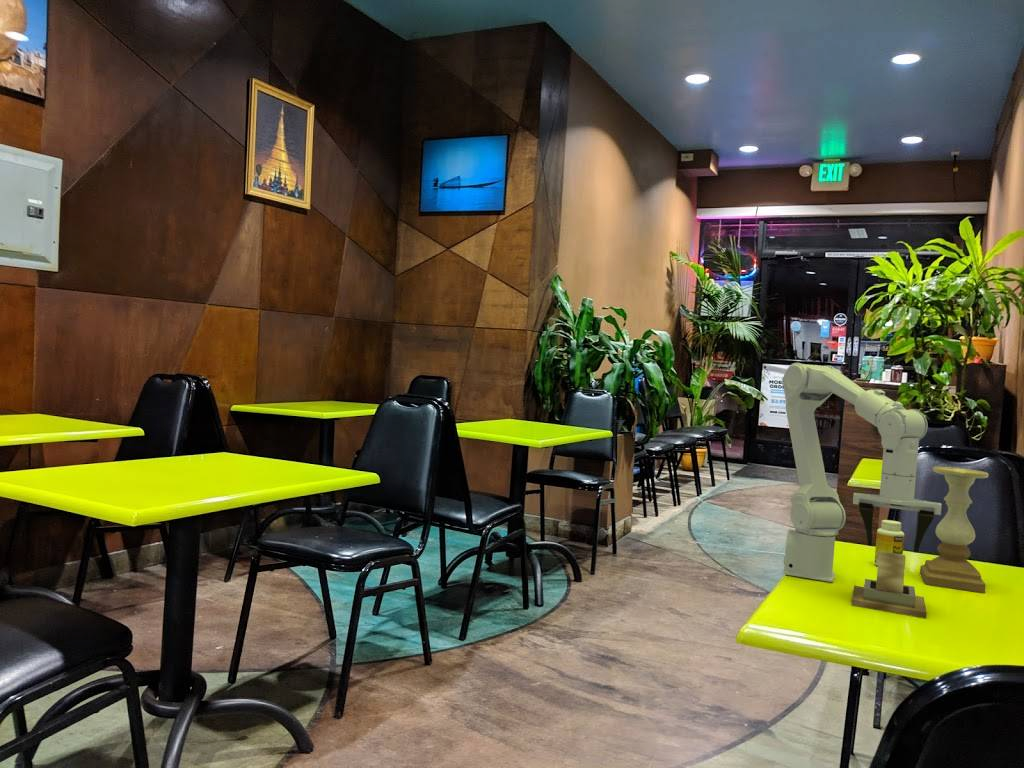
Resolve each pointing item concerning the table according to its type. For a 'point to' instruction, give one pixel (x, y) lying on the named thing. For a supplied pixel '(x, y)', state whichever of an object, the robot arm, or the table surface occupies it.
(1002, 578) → the table surface
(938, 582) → the candle holder
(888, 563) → the tan rectangular block
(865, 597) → the gray square frame
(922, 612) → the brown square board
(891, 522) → the supplement bottle
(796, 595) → the table surface
